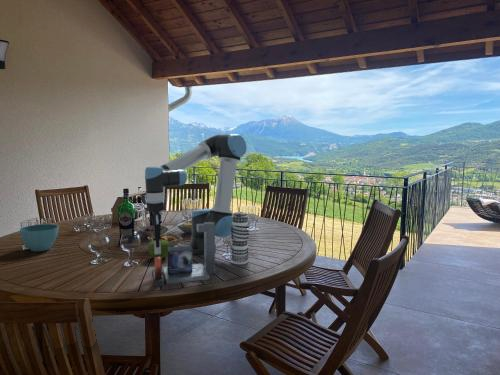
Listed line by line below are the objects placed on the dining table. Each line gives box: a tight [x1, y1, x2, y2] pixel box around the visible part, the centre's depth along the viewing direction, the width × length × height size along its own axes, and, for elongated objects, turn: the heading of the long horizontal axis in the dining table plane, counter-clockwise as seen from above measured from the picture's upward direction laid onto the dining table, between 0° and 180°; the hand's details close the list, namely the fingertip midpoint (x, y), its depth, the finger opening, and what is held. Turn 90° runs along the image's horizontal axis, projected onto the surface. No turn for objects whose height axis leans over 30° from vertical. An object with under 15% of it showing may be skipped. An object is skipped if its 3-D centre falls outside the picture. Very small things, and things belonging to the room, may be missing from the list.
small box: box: [167, 245, 193, 274], centre depth 153 cm, size 11×6×10 cm, turn 107°
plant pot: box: [19, 223, 60, 253], centre depth 189 cm, size 18×18×12 cm
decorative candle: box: [230, 211, 250, 265], centre depth 173 cm, size 9×9×25 cm
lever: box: [153, 257, 164, 283], centre depth 145 cm, size 4×4×10 cm
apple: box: [147, 239, 171, 260], centre depth 177 cm, size 11×10×10 cm
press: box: [152, 222, 216, 288], centre depth 153 cm, size 18×26×23 cm
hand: (157, 253), depth 155 cm, fingers closed
